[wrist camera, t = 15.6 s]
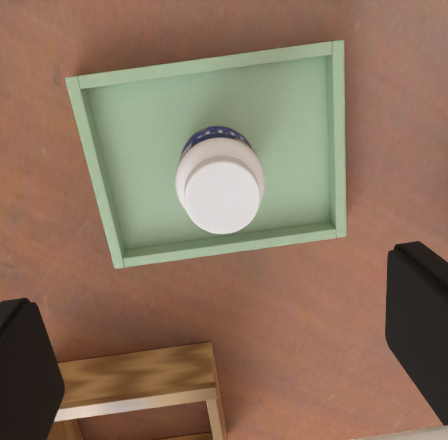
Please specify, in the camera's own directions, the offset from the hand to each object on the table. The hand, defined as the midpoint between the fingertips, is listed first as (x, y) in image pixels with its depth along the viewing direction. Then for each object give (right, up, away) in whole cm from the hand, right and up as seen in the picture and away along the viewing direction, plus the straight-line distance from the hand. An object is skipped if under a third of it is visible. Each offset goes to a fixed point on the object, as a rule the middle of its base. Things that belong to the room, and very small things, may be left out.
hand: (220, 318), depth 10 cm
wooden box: (-7, -15, +27) cm, 31 cm away
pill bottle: (0, +7, +18) cm, 19 cm away
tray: (0, +7, +18) cm, 20 cm away
